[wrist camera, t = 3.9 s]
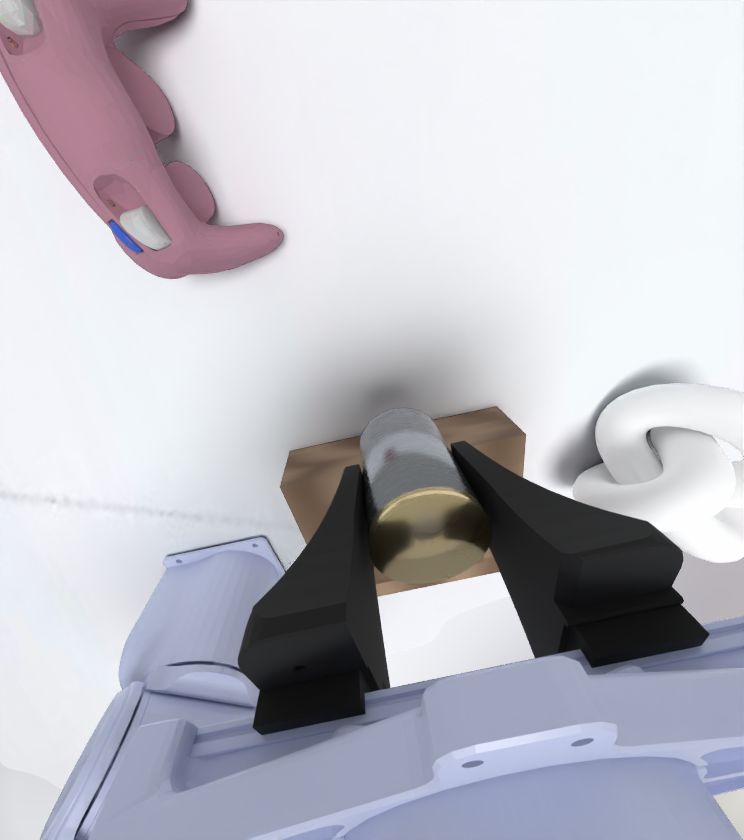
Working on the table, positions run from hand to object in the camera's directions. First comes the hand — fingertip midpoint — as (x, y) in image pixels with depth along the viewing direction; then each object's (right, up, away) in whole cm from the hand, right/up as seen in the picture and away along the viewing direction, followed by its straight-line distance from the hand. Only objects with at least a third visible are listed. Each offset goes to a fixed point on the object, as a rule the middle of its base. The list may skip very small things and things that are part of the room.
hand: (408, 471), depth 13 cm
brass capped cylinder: (0, +1, +2) cm, 2 cm away
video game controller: (-10, +15, +1) cm, 18 cm away
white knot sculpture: (+19, 0, +12) cm, 22 cm away
